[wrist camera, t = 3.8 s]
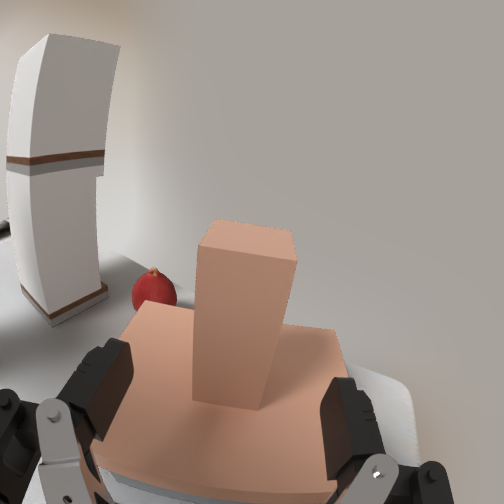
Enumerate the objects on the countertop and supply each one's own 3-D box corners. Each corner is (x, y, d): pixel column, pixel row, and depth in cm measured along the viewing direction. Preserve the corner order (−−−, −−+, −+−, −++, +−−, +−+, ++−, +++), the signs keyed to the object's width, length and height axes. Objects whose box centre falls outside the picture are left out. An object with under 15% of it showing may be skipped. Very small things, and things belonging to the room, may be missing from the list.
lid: (73, 454, 11) (-16, 275, 6) (146, 321, 25) (145, 188, 20) (355, 499, 11) (494, 356, 6) (326, 350, 25) (368, 223, 20)
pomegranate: (132, 309, 36) (129, 257, 33) (172, 306, 39) (173, 255, 36) (135, 336, 31) (130, 279, 28) (180, 332, 34) (181, 277, 31)
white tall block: (108, 297, 37) (120, 46, 24) (52, 327, 28) (49, 33, 15) (71, 271, 41) (77, 63, 28) (22, 293, 32) (19, 59, 19)
